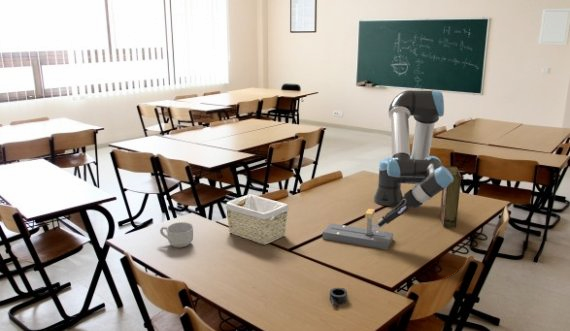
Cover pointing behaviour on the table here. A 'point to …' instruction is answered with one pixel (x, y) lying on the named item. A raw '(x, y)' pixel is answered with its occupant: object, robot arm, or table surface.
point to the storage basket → (257, 218)
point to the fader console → (358, 236)
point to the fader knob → (369, 221)
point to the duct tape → (338, 296)
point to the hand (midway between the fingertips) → (374, 228)
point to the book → (450, 199)
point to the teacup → (179, 234)
